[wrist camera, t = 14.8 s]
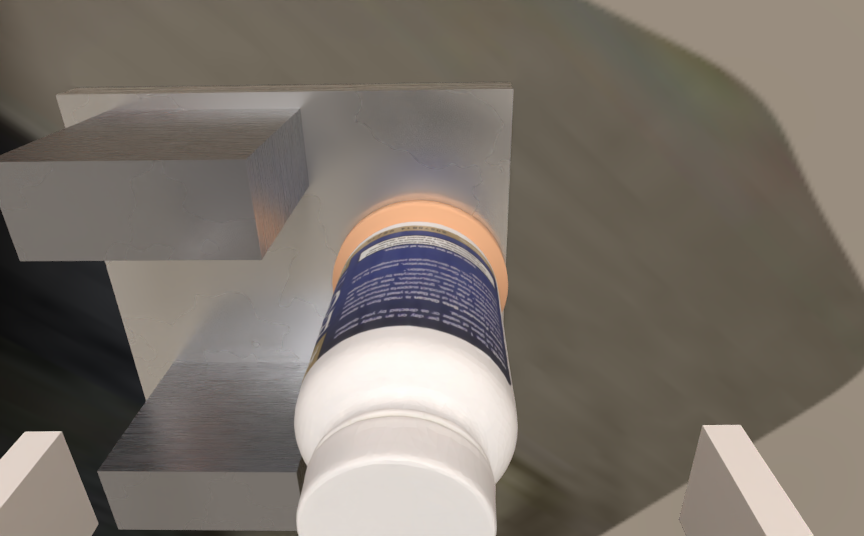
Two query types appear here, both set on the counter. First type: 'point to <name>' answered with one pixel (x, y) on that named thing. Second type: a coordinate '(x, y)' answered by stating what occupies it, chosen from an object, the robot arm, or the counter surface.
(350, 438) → the pill bottle
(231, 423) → the metal plate with uprights
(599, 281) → the counter surface
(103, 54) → the counter surface
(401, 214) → the disc
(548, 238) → the counter surface
